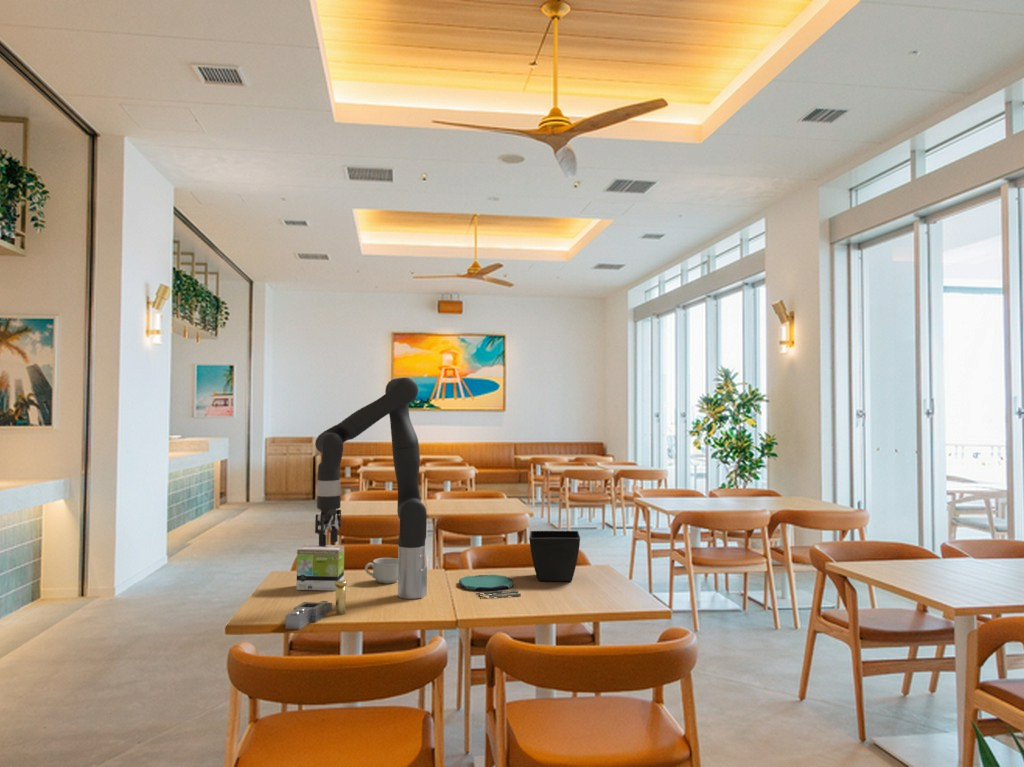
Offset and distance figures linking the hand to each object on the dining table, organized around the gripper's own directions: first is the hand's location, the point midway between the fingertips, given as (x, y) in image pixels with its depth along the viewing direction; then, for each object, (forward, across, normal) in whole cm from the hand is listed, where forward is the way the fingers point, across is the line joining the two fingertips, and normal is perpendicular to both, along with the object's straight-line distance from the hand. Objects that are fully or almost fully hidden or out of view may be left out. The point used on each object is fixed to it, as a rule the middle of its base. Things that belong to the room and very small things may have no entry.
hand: (328, 544), depth 249 cm
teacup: (+21, +39, -4) cm, 44 cm away
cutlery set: (+21, +37, -45) cm, 62 cm away
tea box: (+21, +25, +15) cm, 36 cm away
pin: (+20, -6, -7) cm, 22 cm away
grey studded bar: (+20, -13, 0) cm, 24 cm away
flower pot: (+21, +59, -65) cm, 90 cm away
